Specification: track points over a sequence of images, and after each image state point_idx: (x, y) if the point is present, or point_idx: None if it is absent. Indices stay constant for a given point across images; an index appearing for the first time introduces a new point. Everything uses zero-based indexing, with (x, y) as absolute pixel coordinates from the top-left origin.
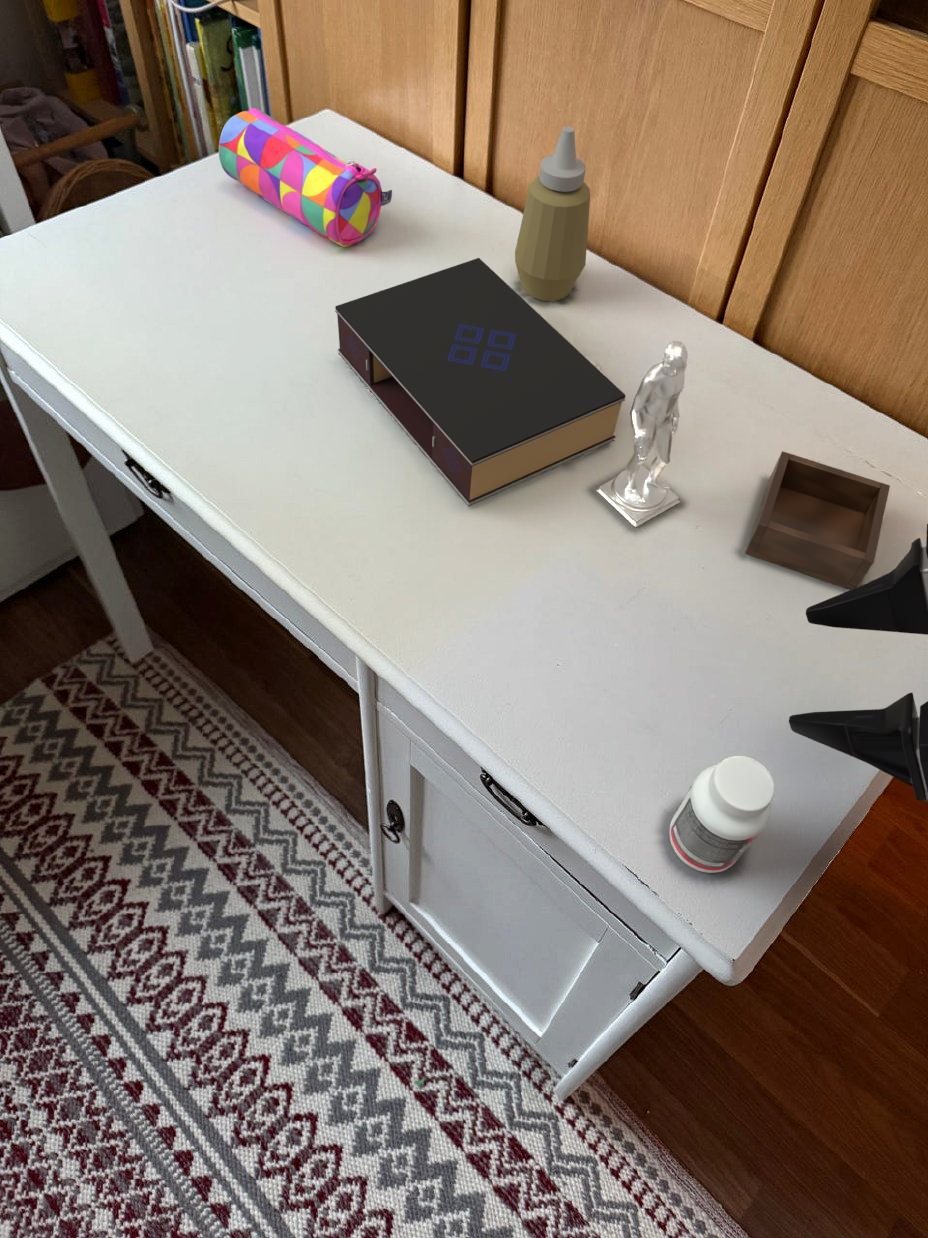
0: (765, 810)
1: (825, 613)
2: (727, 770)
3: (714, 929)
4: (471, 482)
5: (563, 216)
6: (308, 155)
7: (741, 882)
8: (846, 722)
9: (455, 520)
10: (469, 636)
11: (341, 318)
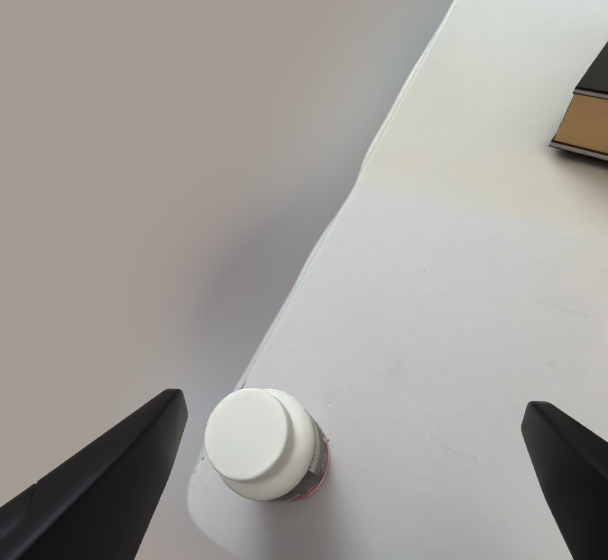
0: (249, 486)
1: (551, 447)
2: (256, 403)
3: (201, 485)
4: (564, 117)
5: None
6: None
7: (255, 510)
8: (35, 487)
9: (528, 150)
10: (412, 203)
11: None
